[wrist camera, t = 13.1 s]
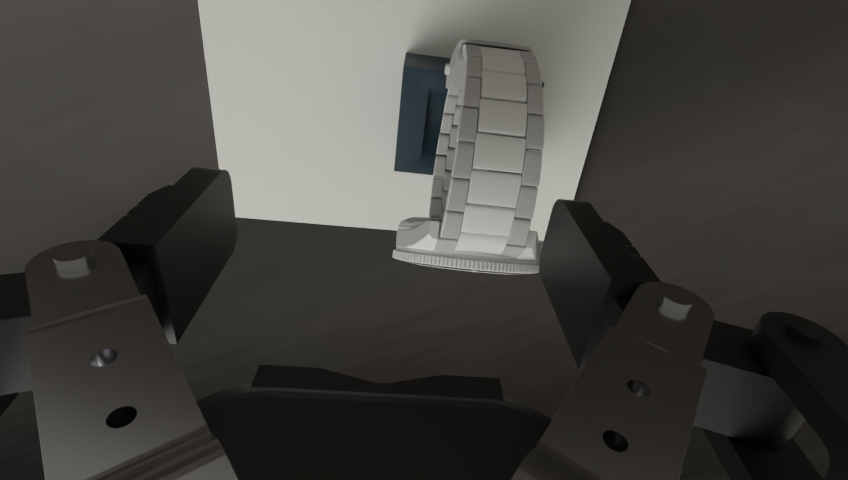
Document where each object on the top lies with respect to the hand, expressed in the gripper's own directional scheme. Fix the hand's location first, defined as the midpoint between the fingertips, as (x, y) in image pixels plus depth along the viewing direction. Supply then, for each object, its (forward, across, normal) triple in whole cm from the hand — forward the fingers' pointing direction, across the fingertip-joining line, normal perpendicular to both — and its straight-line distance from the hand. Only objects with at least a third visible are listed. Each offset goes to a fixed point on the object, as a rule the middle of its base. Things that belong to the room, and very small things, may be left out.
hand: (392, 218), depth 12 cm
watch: (+12, -3, 0) cm, 12 cm away
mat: (+12, 0, 0) cm, 12 cm away
